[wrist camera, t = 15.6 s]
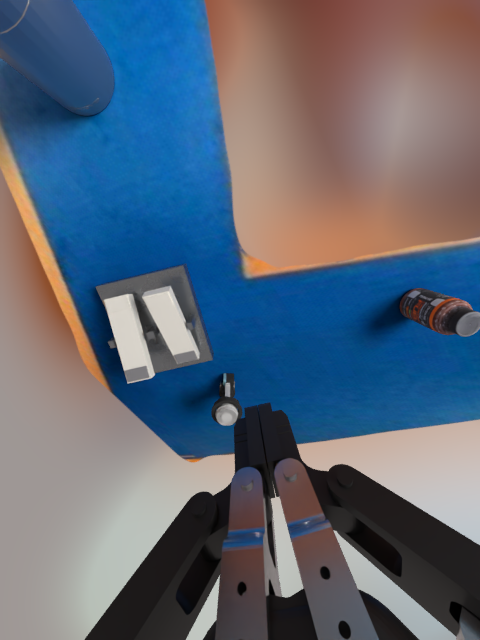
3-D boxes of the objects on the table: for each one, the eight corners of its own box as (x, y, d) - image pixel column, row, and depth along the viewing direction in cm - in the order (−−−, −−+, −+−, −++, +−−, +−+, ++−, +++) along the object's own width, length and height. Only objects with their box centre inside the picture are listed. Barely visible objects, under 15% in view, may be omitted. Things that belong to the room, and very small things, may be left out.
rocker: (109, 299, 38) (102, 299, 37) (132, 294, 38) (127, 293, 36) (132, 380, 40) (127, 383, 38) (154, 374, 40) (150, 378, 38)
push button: (238, 398, 51) (240, 435, 41) (213, 397, 50) (210, 435, 41) (240, 372, 48) (243, 405, 39) (215, 370, 48) (211, 404, 39)
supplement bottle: (397, 292, 44) (450, 310, 33) (428, 283, 43) (493, 299, 33) (398, 320, 46) (449, 347, 35) (428, 312, 46) (489, 336, 35)
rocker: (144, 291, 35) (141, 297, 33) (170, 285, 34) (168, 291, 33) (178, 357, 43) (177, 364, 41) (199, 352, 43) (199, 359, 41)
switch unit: (102, 283, 41) (78, 293, 34) (186, 263, 40) (177, 269, 34) (140, 369, 47) (126, 391, 41) (213, 353, 46) (211, 372, 40)
